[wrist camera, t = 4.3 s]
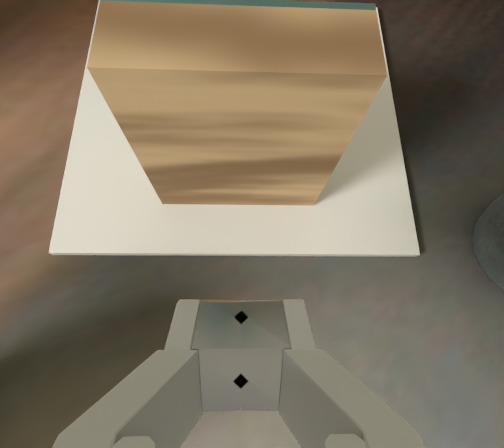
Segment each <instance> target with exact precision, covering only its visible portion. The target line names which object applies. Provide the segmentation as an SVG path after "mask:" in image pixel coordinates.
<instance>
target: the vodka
mask: <svg viewBox="0 0 504 448" xmlns="http://www.w3.org/2000/svg"><path fill="white" fill-rule="evenodd" d="M472 237H473V249H474V252H475V255H476V257H477V260H478V262H479V265H480V266H481V267H482V269H483V270H484V272H485V273H486V274H487V276H488V277H489V278H490V279H491V280H492V281H493V282H494V283H496V284H497V285H498V286H499V287H500V288H502V289H503V290H504V193H502V194H501V195H500V196H498V197H497V198H496V199H494V200H493V201H492V202H491V203H490V204H489V206H488V207H487V208H486V209H485V210H484V212H483V213H482V214H481V215H480V217H479V218H478V219H477V220H476V223H475V226H474V230H473V233H472Z"/></svg>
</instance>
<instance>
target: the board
mask: <svg viewBox="0 0 504 448" xmlns="http://www.w3.org/2000/svg"><path fill="white" fill-rule="evenodd" d="M99 4H100V0H99V1H98V7H97V12H96V17H95V22H94V27H93V32H92V37H91V42H90V47H89V52H88V57H87V62H86V67H85V72H84V77H83V82H82V87H81V92H80V97H79V102H78V107H77V112H76V117H75V122H74V127H73V132H72V137H71V143H70V148H69V153H68V158H67V163H66V168H65V173H64V178H63V183H62V188H61V193H60V198H59V203H58V208H57V213H56V218H55V223H54V228H53V233H52V238H51V243H50V248H49V253H50V254H52V255H183V256H398V257H416V256H418V255H420V252H419V246H418V240H417V234H416V229H415V223H414V217H413V211H412V206H411V200H410V194H409V188H408V182H407V177H406V171H405V165H404V159H403V154H402V148H401V142H400V136H399V130H398V125H397V119H396V113H395V107H394V102H393V96H392V90H391V84H390V78H389V73H388V67H387V61H386V55H385V50H384V44H383V38H382V32H381V26H380V21H379V15H378V9H377V7H376V12H377V18H378V24H379V30H380V36H381V41H382V47H383V53H384V59H385V65H386V71H387V77H386V79H385V80H384V82H383V84H382V86H381V87H380V89H379V91H378V93H377V94H376V96H375V98H374V100H373V102H372V103H371V105H370V107H369V109H368V110H367V112H366V114H365V116H364V117H363V119H362V121H361V123H360V125H359V126H358V128H357V130H356V132H355V133H354V135H353V137H352V139H351V140H350V142H349V144H348V146H347V148H346V149H345V151H344V153H343V155H342V156H341V158H340V160H339V162H338V164H337V165H336V167H335V169H334V171H333V172H332V174H331V176H330V178H329V179H328V181H327V183H326V185H325V187H324V188H323V190H322V192H321V194H320V195H319V197H318V199H317V201H316V202H315V204H314V206H305V205H211V204H162V202H161V200H160V199H159V197H158V195H157V193H156V191H155V190H154V188H153V186H152V184H151V182H150V181H149V179H148V177H147V175H146V173H145V172H144V170H143V168H142V166H141V164H140V162H139V161H138V159H137V157H136V155H135V153H134V152H133V150H132V148H131V146H130V144H129V143H128V141H127V139H126V137H125V135H124V134H123V132H122V130H121V128H120V126H119V124H118V123H117V121H116V119H115V117H114V115H113V114H112V112H111V110H110V108H109V106H108V105H107V103H106V101H105V99H104V97H103V96H102V94H101V92H100V90H99V88H98V86H97V85H96V83H95V81H94V79H93V77H92V76H91V74H90V72H89V70H88V68H87V65H88V60H89V54H90V49H91V44H92V39H93V34H94V29H95V24H96V19H97V14H98V9H99Z"/></svg>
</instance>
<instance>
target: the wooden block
mask: <svg viewBox="0 0 504 448" xmlns="http://www.w3.org/2000/svg"><path fill="white" fill-rule="evenodd" d="M87 68H88V70H89V72H90V74H91V76H92V77H93V79H94V81H95V83H96V85H97V86H98V88H99V90H100V92H101V94H102V96H103V97H104V99H105V101H106V103H107V105H108V106H109V108H110V110H111V112H112V114H113V115H114V117H115V119H116V121H117V123H118V124H119V126H120V128H121V130H122V132H123V134H124V135H125V137H126V139H127V141H128V143H129V144H130V146H131V148H132V150H133V152H134V153H135V155H136V157H137V159H138V161H139V162H140V164H141V166H142V168H143V170H144V172H145V173H146V175H147V177H148V179H149V181H150V182H151V184H152V186H153V188H154V190H155V191H156V193H157V195H158V197H159V199H160V200H161V202H162V204H211V205H305V206H314V204H315V202H316V201H317V199H318V197H319V195H320V194H321V192H322V190H323V188H324V187H325V185H326V183H327V181H328V179H329V178H330V176H331V174H332V172H333V171H334V169H335V167H336V165H337V164H338V162H339V160H340V158H341V156H342V155H343V153H344V151H345V149H346V148H347V146H348V144H349V142H350V140H351V139H352V137H353V135H354V133H355V132H356V130H357V128H358V126H359V125H360V123H361V121H362V119H363V117H364V116H365V114H366V112H367V110H368V109H369V107H370V105H371V103H372V102H373V100H374V98H375V96H376V94H377V93H378V91H379V89H380V87H381V86H382V84H383V82H384V80H385V79H386V77H387V71H386V65H385V59H384V53H383V47H382V41H381V36H380V30H379V24H378V18H377V12H376V6H375V4H374V3H345V2H316V1H288V0H100V4H99V9H98V14H97V19H96V24H95V29H94V34H93V39H92V44H91V49H90V54H89V60H88V65H87Z"/></svg>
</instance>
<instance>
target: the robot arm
mask: <svg viewBox="0 0 504 448" xmlns="http://www.w3.org/2000/svg"><path fill="white" fill-rule="evenodd" d="M240 409H241V410H247V411H279V414H280V416H281V417H282V419H283V420H284V422H285V423H286V425H287V426H288V428H289V429H290V431H291V432H292V434H293V435H294V437H295V438H296V440H297V441H298V443H299V444H300V446H301V447H302V448H425V446H424V444H423V442H422V440H421V438H420V436H419V433H418V431H417V430H415V429H414V428H413V427H412V426H411V425H410V424H409V423H407V422H406V421H405V420H404V419H403V418H402V417H400V416H399V415H398V414H397V413H396V412H395V411H394V410H392V409H391V408H390V407H389V406H388V405H387V404H386V403H384V402H383V401H382V400H381V399H380V398H379V397H378V396H376V395H375V394H374V393H373V392H372V391H371V390H370V389H368V388H367V387H366V386H365V385H364V384H363V383H362V382H360V381H359V380H358V379H357V378H356V377H355V376H354V375H352V374H351V373H350V372H349V371H348V370H347V369H346V368H344V367H343V366H342V365H341V364H340V363H339V362H338V361H336V360H335V359H334V358H333V357H332V356H331V355H330V354H328V353H327V352H326V351H325V350H324V349H317V347H316V343H315V340H314V336H313V332H312V328H311V325H310V321H309V317H308V313H307V310H306V306H305V302H304V301H303V300H302V299H284V300H213V299H201V300H199V299H180V300H179V301H178V302H177V305H176V308H175V312H174V316H173V319H172V323H171V326H170V330H169V334H168V337H167V341H166V344H165V348H164V350H157V351H156V352H154V353H153V354H152V355H151V356H150V357H149V358H147V359H146V360H145V361H144V362H143V363H142V364H140V365H139V366H138V367H137V368H136V369H135V370H133V371H132V372H131V373H130V374H129V375H128V376H126V377H125V378H124V379H123V380H122V381H121V382H119V383H118V384H117V385H116V386H115V387H114V388H112V389H111V390H110V391H109V392H108V393H107V394H105V395H104V396H103V397H102V398H101V399H100V400H98V401H97V402H96V403H95V404H94V405H93V406H91V407H90V408H89V409H88V410H87V411H86V412H84V413H83V414H82V415H81V416H80V417H79V418H77V419H76V420H75V421H74V422H73V423H72V424H70V425H69V426H68V427H67V428H66V429H65V430H63V431H62V432H61V433H60V434H59V435H58V437H57V439H56V441H55V443H54V445H53V447H52V448H179V447H180V446H181V445H182V443H183V442H184V440H185V439H186V437H187V436H188V434H189V433H190V431H191V430H192V428H193V427H194V426H195V424H196V423H197V421H198V420H199V418H200V417H201V415H202V412H211V411H236V410H240Z"/></svg>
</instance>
